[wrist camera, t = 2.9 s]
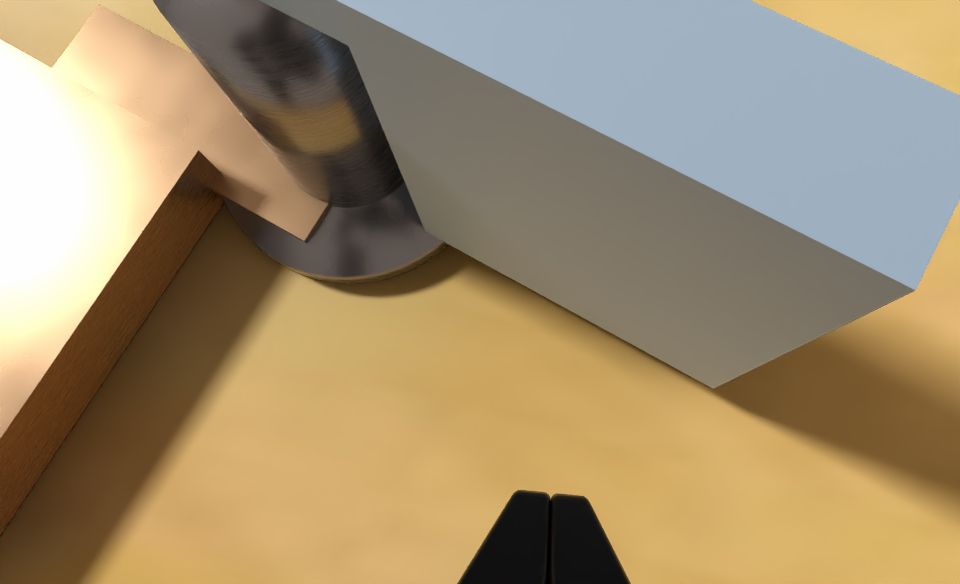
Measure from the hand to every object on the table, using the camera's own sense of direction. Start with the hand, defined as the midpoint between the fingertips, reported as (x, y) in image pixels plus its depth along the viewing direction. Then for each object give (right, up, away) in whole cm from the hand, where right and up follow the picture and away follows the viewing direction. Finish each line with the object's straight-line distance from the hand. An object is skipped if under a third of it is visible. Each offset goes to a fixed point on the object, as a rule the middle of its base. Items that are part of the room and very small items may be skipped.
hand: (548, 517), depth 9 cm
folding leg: (0, +4, +7) cm, 8 cm away
